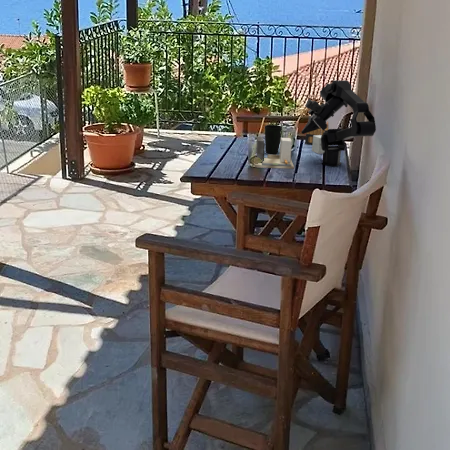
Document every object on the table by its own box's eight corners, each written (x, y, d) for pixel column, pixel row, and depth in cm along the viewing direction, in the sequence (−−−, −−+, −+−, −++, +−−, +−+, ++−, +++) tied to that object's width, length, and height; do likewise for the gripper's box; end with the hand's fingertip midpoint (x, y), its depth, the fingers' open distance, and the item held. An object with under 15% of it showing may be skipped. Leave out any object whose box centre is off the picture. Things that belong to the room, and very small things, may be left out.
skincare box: (318, 154, 288) (319, 137, 286) (311, 151, 293) (312, 135, 291) (329, 153, 290) (331, 137, 288) (323, 150, 296) (324, 134, 293)
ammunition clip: (304, 144, 306) (306, 119, 302) (305, 143, 308) (307, 118, 304) (326, 147, 302) (329, 121, 298) (327, 146, 304) (330, 121, 300)
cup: (274, 156, 281) (275, 128, 277) (259, 152, 286) (261, 126, 282) (283, 153, 287) (285, 126, 283) (269, 150, 291) (271, 123, 287)
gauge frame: (290, 161, 274) (292, 138, 270) (293, 168, 262) (295, 144, 259) (253, 159, 274) (254, 136, 270) (254, 167, 262) (256, 143, 258)
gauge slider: (288, 158, 273) (290, 138, 269) (291, 165, 263) (292, 143, 260) (279, 158, 272) (280, 137, 269) (281, 164, 263) (283, 143, 259)
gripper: (315, 89, 271) (287, 114, 275) (321, 96, 254) (291, 123, 257) (331, 109, 274) (303, 133, 278) (339, 117, 257) (309, 143, 260)
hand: (301, 133), depth 268 cm, fingers closed
